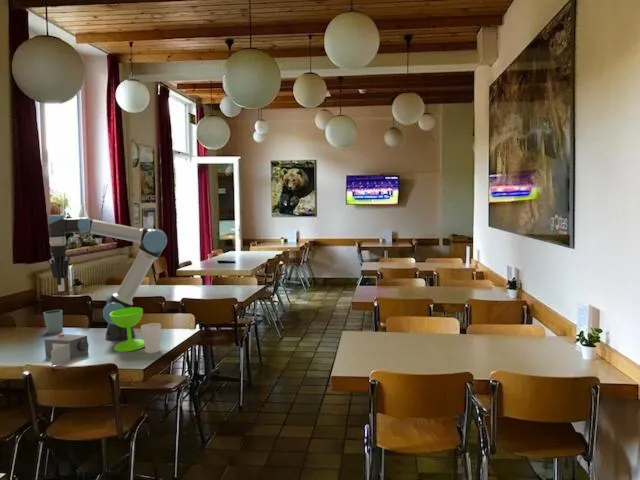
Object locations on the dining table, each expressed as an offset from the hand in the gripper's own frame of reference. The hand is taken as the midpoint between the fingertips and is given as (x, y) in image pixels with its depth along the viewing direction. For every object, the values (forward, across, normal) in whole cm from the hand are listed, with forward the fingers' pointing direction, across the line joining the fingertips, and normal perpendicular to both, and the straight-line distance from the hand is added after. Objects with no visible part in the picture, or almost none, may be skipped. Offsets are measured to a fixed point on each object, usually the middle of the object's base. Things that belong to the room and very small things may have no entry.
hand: (61, 290), depth 298 cm
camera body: (+29, +14, +14) cm, 35 cm away
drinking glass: (+30, -31, -35) cm, 56 cm away
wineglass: (+29, -5, +36) cm, 46 cm away
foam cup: (+30, 0, +52) cm, 60 cm away
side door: (+29, +27, +22) cm, 45 cm away
